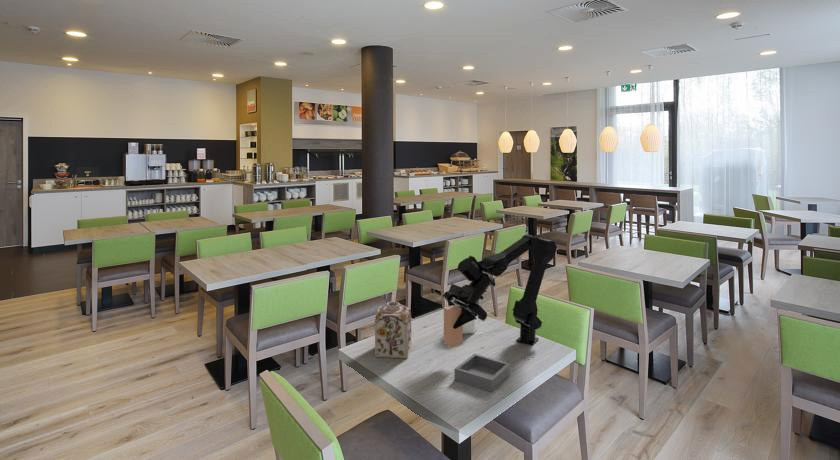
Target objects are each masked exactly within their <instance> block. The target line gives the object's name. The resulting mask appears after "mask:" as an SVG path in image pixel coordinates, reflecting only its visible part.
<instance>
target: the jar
mask: <svg viewBox="0 0 840 460" xmlns="http://www.w3.org/2000/svg"><path fill="white" fill-rule="evenodd" d="M476 304H477V305H478V302H477V303H476ZM460 308H462V307H461V306H460ZM476 318H477V319H476V320H475V319H474V320H472V321H470V322H468V323H466V324H464V325H463V326H462V335H464V334H465V335H466V334H475V333H476V332H477V331H478V329H479V328H478V327H479V326H478V325H479V318H478V315H477V316H476Z"/></svg>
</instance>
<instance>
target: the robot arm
mask: <svg viewBox="0 0 840 460" xmlns="http://www.w3.org/2000/svg"><path fill="white" fill-rule="evenodd" d="M557 248H558V246H557V245H556V242H555V241H554V240H551V239H545V238H540V237H539V238H538V237H536V236H535V235H531V234H524V235H523V236H522V237H521V238H520V239H518V240H517V241H515V242H514V243H512V244H511V245H509V246H508V247H506V248H505V249H504V250H502V251H500V252H498V253H493V254H490V255H488V256H485V257H484V258H483V259H482V260H480V261H478V260H477V259H476V257H475V256H473V255H469V256H468V257H467V258H464V259H463V260H461V261H460V262H459V263H458V265H457V271H459V273H460V274H461V275H462V276H463V277H464V278H465V279H466V280H467V281H469V284H464V285H462V286H460V285H458V284H454V283H451V284H450V287H449V288H448V289H449V290H448V291H445V292H444V294H443V295H442V298H444V300H446V302H447V303H448V306H453V305H456V306H458V307H460V306H461V307H462V312H461V315H460V316H459V318H458V319H457V321H456V322H455V324H454V326H453V328H454V329H456V328H458V327H460V326H462V325H464V324H466V323H468V322H470V321H472V320H474V319H475V320H476V319H477V318H476V316H477V315H478V320H481V321H482V322H485V320H486V319H487V317H488V312H487V311H486V310H485V309H484V308H483V307H482V306H481V305H479V304H478V302H479V300H482V301H483V299H484V298H485V297H484V296H483V295H484V294H485V292H486V291H487V289H488V288H489V287H490V286H492V287H496V282H495V278H494V277H500V276H502V274H504V272H506V270H508V267H509V265H510V264H511V263H512V262H514V261H515V260H516V259H517V258H519V257H520V256H522V255H523V254H525V253H526V252H528V251H529V250H531V249H532V250H531V254H532V259H533V262H532V265H531V268H530V271H529V275H528V279H527V282H526V285H525V289H524V292H523V296H522V298H521V299H519V300H515V301H514V306H513V308H512V317H514V320H515V323H517V324H519V326H520V329H519V330H520V331H519V337H518V338H516V342H519V343H522V344H527V345H530V346H533V345H534V344H535V343H537V342H538V340H539V337H536V335H537V334H536V331H537V330H539V329H540V328H541V327H542V325H543V321H542V320H541V319H540V318H539V317H538V313H539V312H538V310H539V309H538V304H537V299H538V297H539V296H538V295H539V293H540V288H541V286H542V282H543V279H544V275H545V272H546V269H547V265H548V264H549V263H550V262H551V261H552V260H553V259H554V256H556V255H555V254H556V253H557ZM490 275H491V276H494V277H491V276H490ZM476 303H477V304H476Z"/></svg>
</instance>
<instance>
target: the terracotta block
mask: <svg viewBox="0 0 840 460" xmlns="http://www.w3.org/2000/svg"><path fill="white" fill-rule="evenodd" d="M461 312H462V308H460V307H458V306H456V305H453V306H449V305H448V306H445V307H443V343H444V345H447V346H449V347H450V348H454V347H457V346H458V347H459V346H462V345H463V334H462V326H463V325H462V326H460V327H458V328H456V329H454V328H453V326H454V324H455V322H456V321H457V319H458V318H459V316H460V315H461Z"/></svg>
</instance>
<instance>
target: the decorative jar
mask: <svg viewBox="0 0 840 460" xmlns="http://www.w3.org/2000/svg"><path fill="white" fill-rule="evenodd" d="M411 348H412V311H411V309H410V308H409V307H408V306H406V305H404V304H401V303H400V302H398V301H389V302H386V304H384V305H381V306H379V307H378V308H377V310H376V315H375V319H374V353H375V354H374V355H375V357H376V358H386V359H387V358H390V359H406V360H407V359H408V358H409V355H410V351H411Z"/></svg>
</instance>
